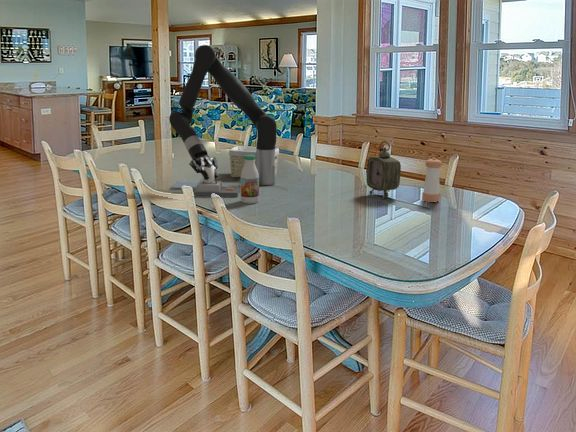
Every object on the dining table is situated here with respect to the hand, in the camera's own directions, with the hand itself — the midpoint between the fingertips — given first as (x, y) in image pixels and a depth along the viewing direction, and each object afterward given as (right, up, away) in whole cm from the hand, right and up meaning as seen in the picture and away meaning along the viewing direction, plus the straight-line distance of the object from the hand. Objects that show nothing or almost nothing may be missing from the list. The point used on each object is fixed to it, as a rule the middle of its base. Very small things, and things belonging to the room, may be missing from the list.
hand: (212, 178), depth 244 cm
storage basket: (+16, +4, +44) cm, 47 cm away
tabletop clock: (+76, -8, +4) cm, 77 cm away
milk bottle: (+17, -11, -10) cm, 23 cm away
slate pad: (-13, -3, +17) cm, 22 cm away
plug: (-1, -5, +3) cm, 6 cm away
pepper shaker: (+96, -10, -2) cm, 97 cm away
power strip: (+1, -7, +3) cm, 8 cm away
